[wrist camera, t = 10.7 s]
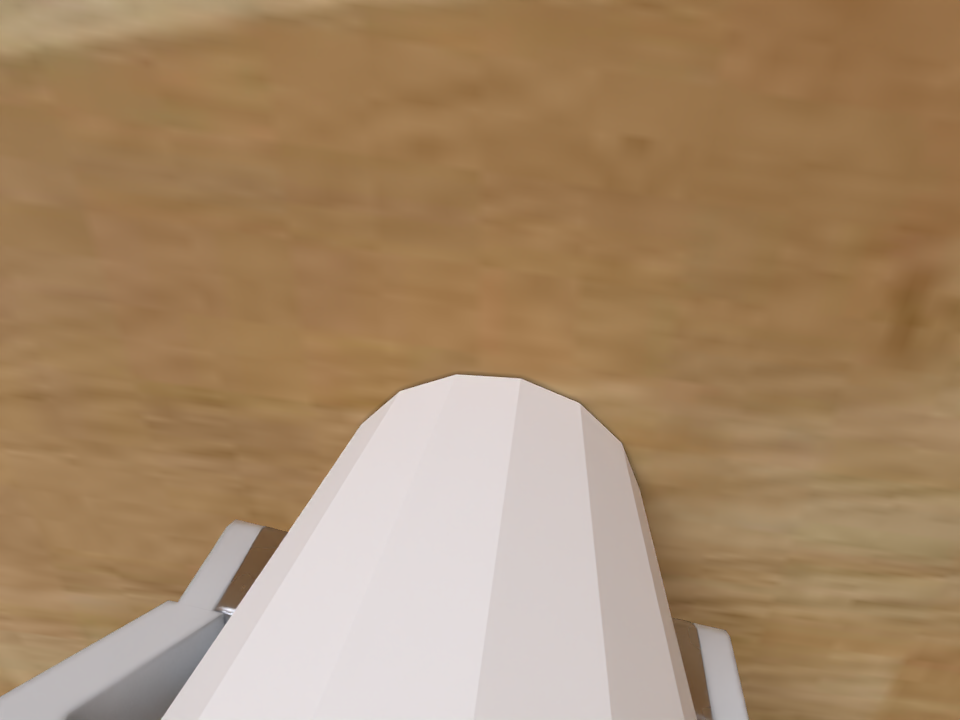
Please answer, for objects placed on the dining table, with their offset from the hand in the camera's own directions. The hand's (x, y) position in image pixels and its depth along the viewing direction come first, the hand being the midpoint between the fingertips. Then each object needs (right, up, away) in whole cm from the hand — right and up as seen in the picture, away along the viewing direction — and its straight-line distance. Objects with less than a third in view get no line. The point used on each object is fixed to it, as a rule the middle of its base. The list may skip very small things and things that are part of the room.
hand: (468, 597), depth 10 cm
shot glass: (0, +1, +2) cm, 2 cm away
